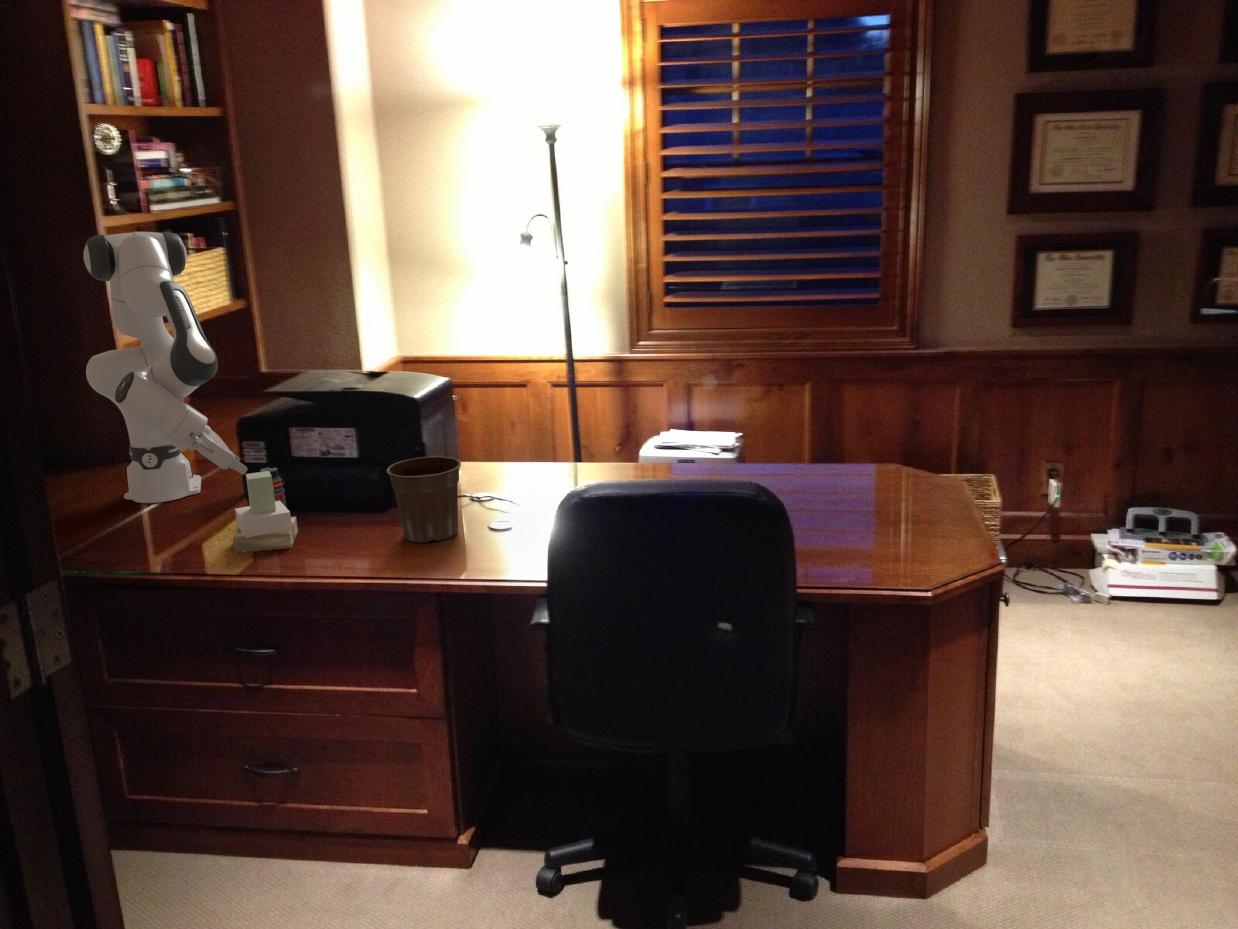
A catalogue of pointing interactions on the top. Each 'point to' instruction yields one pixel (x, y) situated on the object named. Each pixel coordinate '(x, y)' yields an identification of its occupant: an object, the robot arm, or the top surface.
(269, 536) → the maple base slab
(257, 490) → the sage block
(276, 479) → the supplement bottle
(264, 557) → the top surface
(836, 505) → the top surface
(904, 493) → the top surface
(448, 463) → the plant pot
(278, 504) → the white top slab
